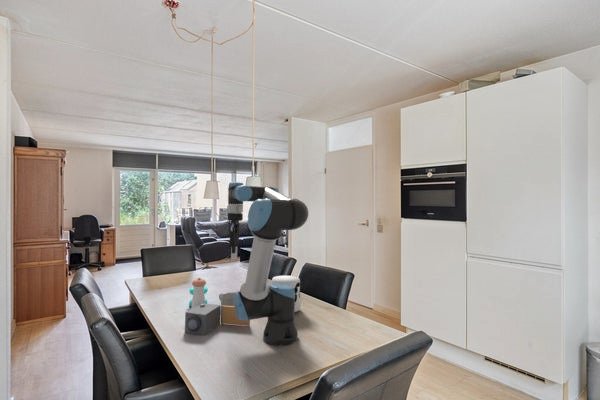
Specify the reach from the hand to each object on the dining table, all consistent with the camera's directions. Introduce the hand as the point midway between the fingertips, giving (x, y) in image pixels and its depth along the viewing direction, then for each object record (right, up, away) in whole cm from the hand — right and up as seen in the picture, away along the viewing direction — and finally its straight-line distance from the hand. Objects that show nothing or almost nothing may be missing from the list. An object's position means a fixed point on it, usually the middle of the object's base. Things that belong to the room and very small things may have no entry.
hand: (233, 259), depth 159 cm
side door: (+2, -30, -8) cm, 31 cm away
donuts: (-25, -30, +20) cm, 44 cm away
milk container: (+25, -32, +14) cm, 43 cm away
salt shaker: (-20, -30, +5) cm, 37 cm away
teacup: (-6, -31, +15) cm, 35 cm away
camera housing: (-12, -30, -13) cm, 35 cm away
